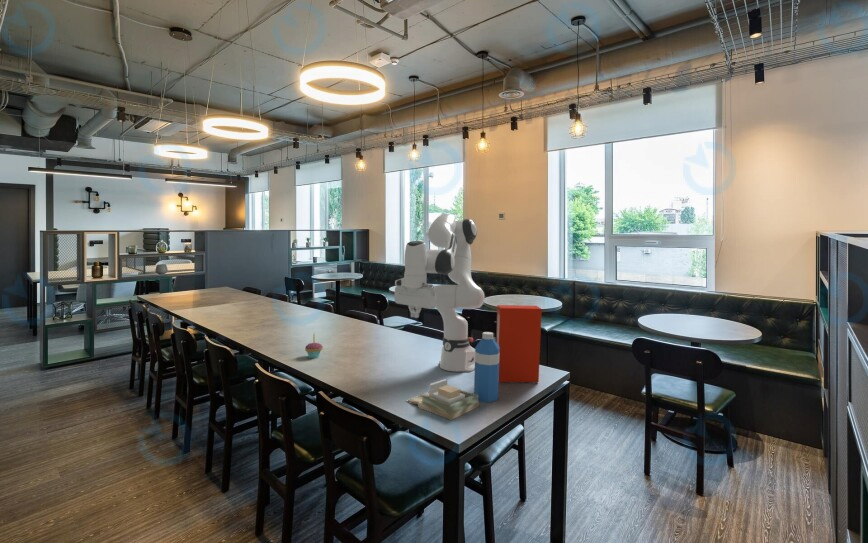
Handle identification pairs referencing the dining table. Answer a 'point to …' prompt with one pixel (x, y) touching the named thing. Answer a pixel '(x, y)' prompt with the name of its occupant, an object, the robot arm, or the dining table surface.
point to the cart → (445, 392)
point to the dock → (447, 405)
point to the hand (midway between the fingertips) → (414, 317)
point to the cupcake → (313, 349)
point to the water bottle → (487, 368)
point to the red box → (518, 342)
